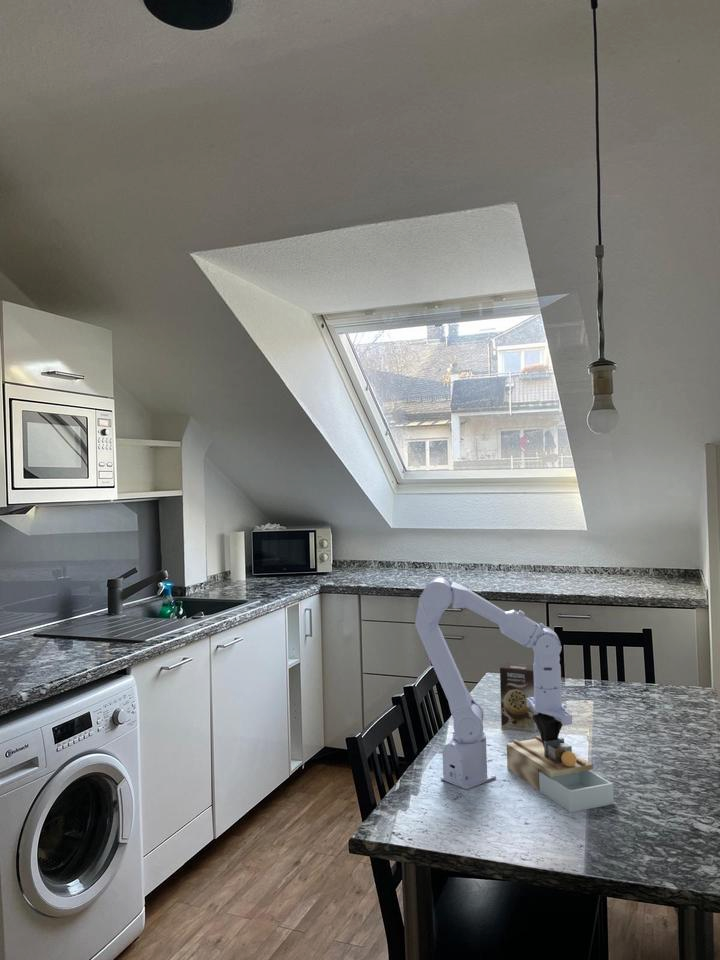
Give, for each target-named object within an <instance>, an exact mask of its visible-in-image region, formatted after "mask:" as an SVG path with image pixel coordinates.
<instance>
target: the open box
mask: <svg viewBox="0 0 720 960" xmlns="http://www.w3.org/2000/svg"><path fill="white" fill-rule="evenodd" d="M539 786H540V790H539V792H541V793H542V794H543V795H545V796H546V797H548V798H549V799H551V800H552V801H553V802H555V803H556V804H557V805H559V806H560V807H562V808H563V809H564V810H565V811H568V812H569V813H575V812H579V811H580V812H581V811H584V810H590V809H595V808H600V807H605V806H610V804H611V805H614V804H615V802H614V799H615V798H614V783H612V782H611V781H609V780H608V779H605V778H604V777H602V776H600V775H599V774H597V773H595V772H594V771H592V770H586V771H581V772H575V773H570V774H564V775H558V776H553V777H551V776H549V775H548V774H546V773H545V772H543V771H540V772H539Z"/></svg>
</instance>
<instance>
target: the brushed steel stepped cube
mask: <svg viewBox="0 0 720 960" xmlns="http://www.w3.org/2000/svg"><path fill="white" fill-rule="evenodd" d="M566 751H570V752H573V748H572V745H570V744H569V743H566V742H565V738H564V737H558V738H556V739H550V740H544V756H545V757H546V758H547V759H549V760H551V761H552V762H554V763H561V762H562V760H561V757H562V754H563V753H564V752H566Z"/></svg>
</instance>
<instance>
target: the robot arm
mask: <svg viewBox="0 0 720 960" xmlns="http://www.w3.org/2000/svg"><path fill="white" fill-rule="evenodd" d="M451 604H452V609H464V608H465V609H468V610H470V611H472V612H473V613H476V614H478V615H479V616H481V617H484V618H485V619H487V620H489V621H490V622H493V623H495V624H497V625H498V628H499V629H500V630H499V631H500V633H501V634H503V635H504V636H506V637H507V638H509V639H510V640H513V641H515V642H517V643H518V644H520V645H522V646H523V647H525V648H528V649H529V648H530V649H532V651H533V664H532V665H533V672H534V697H530V698H527V707H529V708H530V707H532V708H533V709H534V710H535V711H536V712H539V713H538V714H536V715H533V720H534V721H535V723H536V725H537V727H538V730H537V731H538V732H539V735H540V737H541V739H542V743H543V746H544V740H550V739H556V738H559V736H560V733H561V730H562V727H563V726H569V725H573V715H572V714H570V713H569V712H568V710H566V708H567V704H566V703H563V702H562V700H563V699H562V697H563V696H562V694H563V693H562V669H561V668H562V667H561V664H560V661H561V657H560V655H561V652H562V648H563V647H562V645H561V640H560V638H559V636H558V634H557V633H556V632H555V631H554V630H553V629H552V628H551V627H550V626H546V625H545V624H544V623H542V622H539V623H538V622H536V621H534V620H532V619H531V618H529V617H528V616H526V615H525V614H526V613H525V612H524V611H522V610H521V609H519V610H518V611H517V610H515V609H511V610H508V611H506V610H503V608H501V607H498V606H497V605H495V604H493V603H492V602H490V601H489V600H487V599H486V598H484V597H482V596H480V595H479V594H477V593H476V592H474V591H473V590H470V589H469V588H467V587H466V586H464V585H461V584H459V583H458V582H455V581H452V582H451V580H450V579H448V578H447V577H443V576H435V577H433V578H431V579H430V580H429V581H428V583H427V584H426V586H425V587H424V590H423V591H422V592H421V594H420V596H419V597H418V605H417V611H416V616H415V623H414V625H415V629H416V631H417V633H418V636H419V637H420V641H421V643H422V645H423V646H424V647H423V648H424V649H425V651H426V652H425V653H427V656H428V659H429V660H430V663H431V665H432V668H433V670H434V672H435V674H436V676H437V679H438V681H439V683H440V685H441V688H442V690H443V692H444V695H445V698H446V699H447V701H448V706H449V711H450V713H451V716H452V719H453V727H452V728H453V732H452V738H451V740H450V741H449V742H448V743H447V744H445V745H444V747H443V749H442V774H443V775H441V776H440V779H441V780H442V781H445V782H448V783H450V784H452V785H455V786H456V787H460V788H462V789H463V790H469V789H471V788H474V787H476V786H478V785H482V784H484V783H487V782H490V781H491V780H494V779H496V778H497V776H496V775H495V774H493V773H490V772H488V758H487V735H486V733H485V732H484V724H483V721H484V711H483V709H482V707H481V705H480V704H478V703H477V702H476V700H474V699H473V696H472V694H471V693H470V691H469V690H468V689H467V686H466V684H465V681H464V679H463V678H462V677H463V676H462V675H461V672H460V670H459V669H458V666H457V664H456V662H455V659H454V657H453V655H452V652H451V651H450V648H449V646H448V644H447V641H446V639H445V636H444V634H443V633H442V630H441V628H440V626H439V622H440V621H441V617H442V615H443V613H445V611H446V610H447V608H448V607H449V606H450V605H451Z"/></svg>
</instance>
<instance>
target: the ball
mask: <svg viewBox="0 0 720 960" xmlns="http://www.w3.org/2000/svg"><path fill="white" fill-rule="evenodd" d="M561 760H562V762H563V764H564V765H566V766H568V767H571V766H574V765H575V763H576V760H577V759H576V756H575V753H574V752H573V751H572V752H570V751H566V752H564V753H563V754H562V757H561Z"/></svg>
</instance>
